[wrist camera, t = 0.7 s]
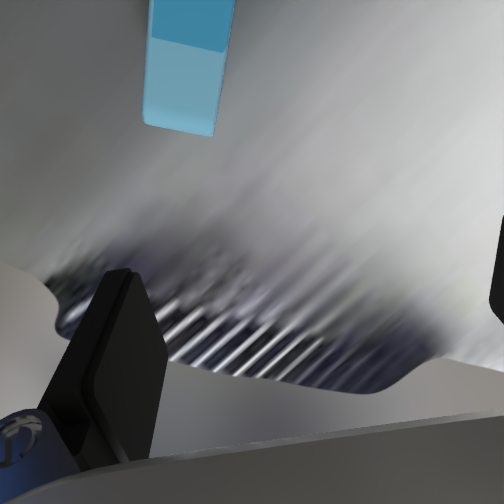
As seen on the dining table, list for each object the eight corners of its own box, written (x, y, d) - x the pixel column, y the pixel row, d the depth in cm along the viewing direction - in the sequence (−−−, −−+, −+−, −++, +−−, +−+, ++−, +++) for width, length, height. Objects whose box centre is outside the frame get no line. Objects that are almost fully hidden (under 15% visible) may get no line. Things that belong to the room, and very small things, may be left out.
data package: (218, 107, 36) (211, 143, 26) (167, 96, 35) (139, 129, 25) (244, -58, 30) (250, -98, 20) (184, -74, 30) (157, -124, 19)
